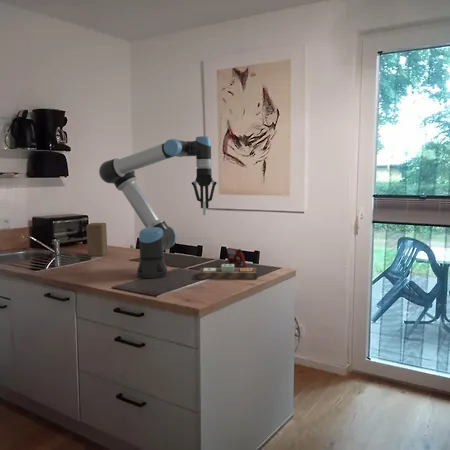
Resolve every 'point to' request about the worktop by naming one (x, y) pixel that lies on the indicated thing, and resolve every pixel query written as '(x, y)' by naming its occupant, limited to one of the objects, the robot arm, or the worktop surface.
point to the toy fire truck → (235, 258)
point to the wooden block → (97, 239)
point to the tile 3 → (246, 269)
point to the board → (227, 274)
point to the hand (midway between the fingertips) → (204, 214)
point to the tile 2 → (227, 268)
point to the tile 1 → (209, 270)
